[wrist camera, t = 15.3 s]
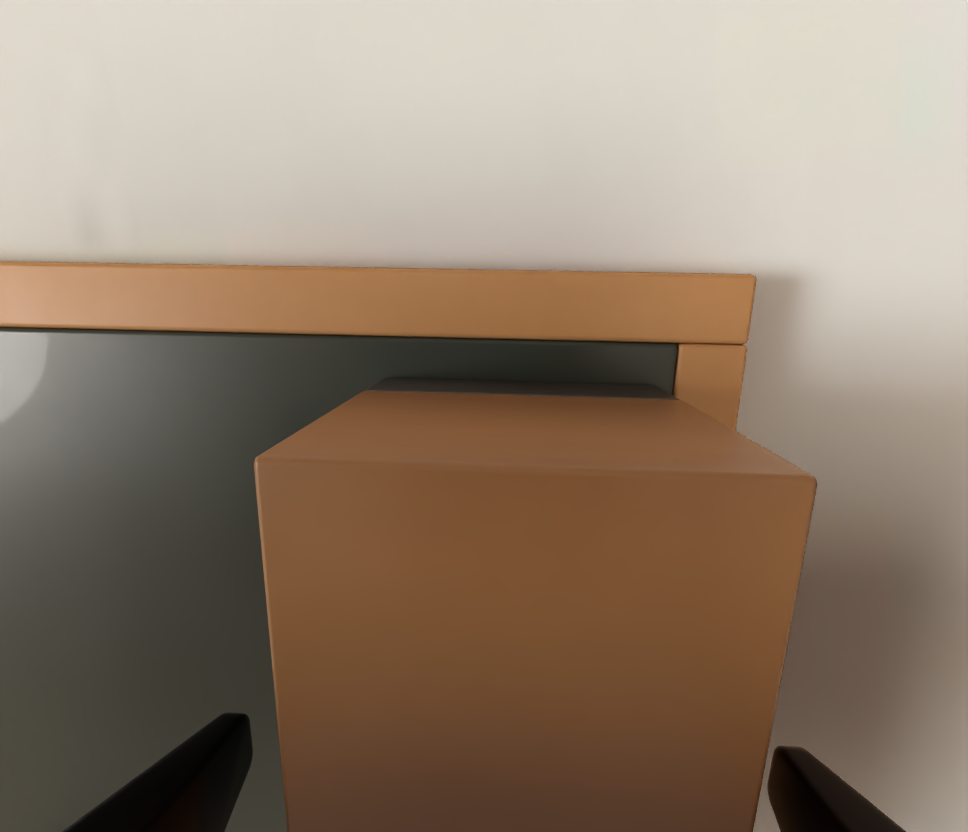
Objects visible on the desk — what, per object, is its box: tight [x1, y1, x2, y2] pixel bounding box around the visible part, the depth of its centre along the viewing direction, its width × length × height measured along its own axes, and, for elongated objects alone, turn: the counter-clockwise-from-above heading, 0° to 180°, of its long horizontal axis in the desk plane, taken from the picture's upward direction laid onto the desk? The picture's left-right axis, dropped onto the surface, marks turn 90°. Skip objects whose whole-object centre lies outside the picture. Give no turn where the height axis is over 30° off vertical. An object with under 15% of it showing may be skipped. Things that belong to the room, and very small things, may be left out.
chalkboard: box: [0, 261, 756, 832], centre depth 11 cm, size 20×16×1 cm
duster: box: [254, 378, 817, 832], centre depth 8 cm, size 12×5×5 cm, turn 179°
